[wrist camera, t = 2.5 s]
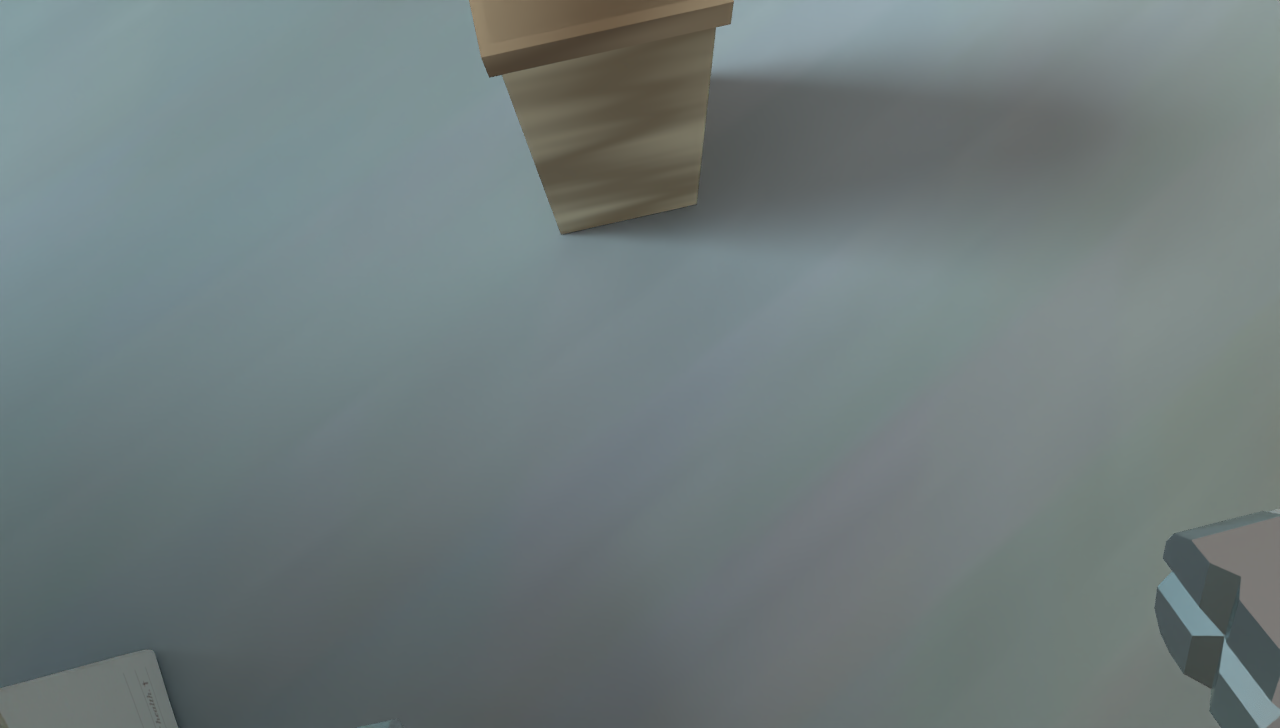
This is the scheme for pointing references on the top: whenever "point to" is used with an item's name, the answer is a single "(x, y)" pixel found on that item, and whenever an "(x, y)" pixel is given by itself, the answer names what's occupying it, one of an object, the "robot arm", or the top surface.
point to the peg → (607, 98)
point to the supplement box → (92, 697)
